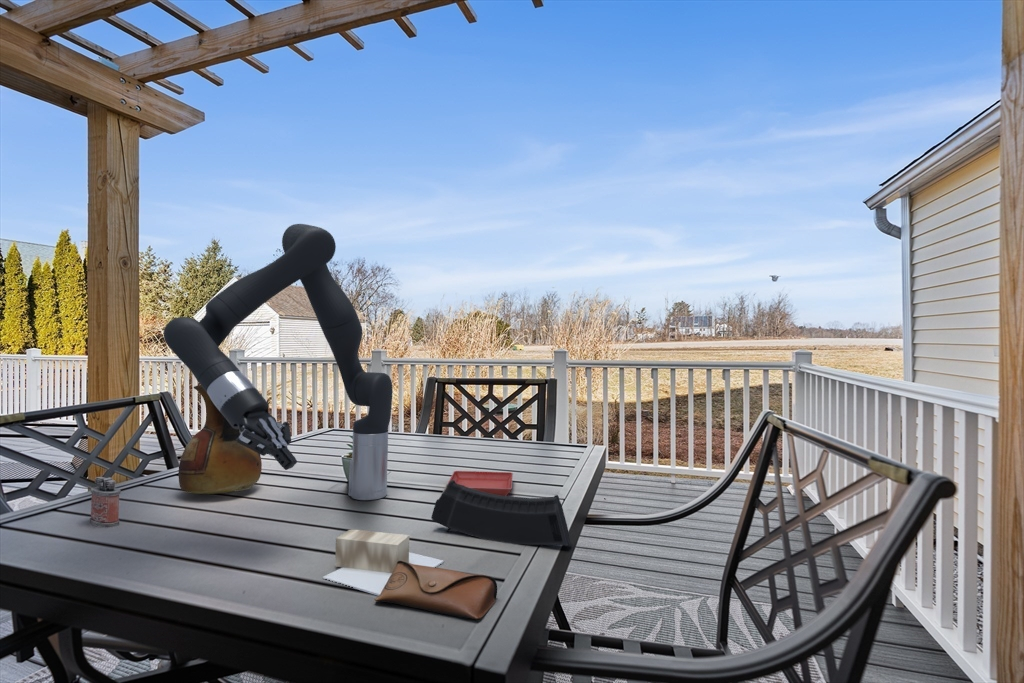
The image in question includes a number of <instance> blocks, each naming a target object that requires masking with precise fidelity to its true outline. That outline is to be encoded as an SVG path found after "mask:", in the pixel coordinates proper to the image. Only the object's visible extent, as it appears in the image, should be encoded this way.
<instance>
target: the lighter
mask: <svg viewBox="0 0 1024 683" xmlns="http://www.w3.org/2000/svg"><path fill="white" fill-rule="evenodd" d="M94 483H95V484H97V485H98V486H96V487H91V488H90V493H91V500H90V501H91V505H90V506H91V508H90V517H89V524H90V525H92V526H95V527H99V528H105V529H106V528H110V529H111V528H115V527H117V526H119V525H120V519H119V515H120V514H119V512H120V495H121V489H119V488H116V487H115V486H116V480H114V479H113V478H112V477H111V476H109V477H103V476H96V478H94Z"/></svg>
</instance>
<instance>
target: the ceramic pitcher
mask: <svg viewBox="0 0 1024 683" xmlns="http://www.w3.org/2000/svg"><path fill="white" fill-rule="evenodd" d="M193 389H194V390H196V391H197V392H198V393H199V394H200V396H201V397H202V399H203V401H204V405H205V412H206V413H205V423H204V426H203V427H202V428H201V429H200V430H199V431H198V432H196V433H195V434H194V435H193V436H192V437H191V439H189V441H188V443H187V444H186V446H185V448H184V450H183V451H182V453H181V457H180V459H179V465H178V472H177V473H178V476H177V477H178V484H179V488H180V489H181V490H182V491H184V492H186V493H189V494H198V495H215V494H225V493H226V494H227V493H233V492H241V491H244V490H246V491H247V490H249V489H250V488H252V487H253V486H255V484H256V483H258V481H260V478H261V476H262V465H263V464H262V457H261V456H262V455H261V454H259V453H257V452H255V451H253V450H251V449H249V448H247V447H245V446H243V445H241V444H240V443H238V442H237V441H236V439H237V438H238V437H239V436H240V435H241V432H240V430H239V429H234V428H233V427H232V426H231V425H230V423H229V422H228V421H227V420H226V418H225V417H224V416H223V415H222V413H221V412H220V411H219V410H218V408H217V407H216V406H215V405H214V403H213V402H212V400H211V398H210V397H209V395H208V394H207V392H206V391H205V390H204V388H203V387H202V386H201V385H200V384H197V385H194V386H193Z"/></svg>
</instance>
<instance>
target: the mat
mask: <svg viewBox="0 0 1024 683" xmlns="http://www.w3.org/2000/svg"><path fill="white" fill-rule="evenodd" d="M409 563H411V564H415V565H422V566H429V567H436V568H438V567H439V566H440V564H441V565H442V564H444V563H445V560H442V559H438V558H435V557H431V556H426V555H421V554H419V553H414V552H410V551H409ZM391 574H392V573H386V572H378V571H369V570H361V569H353V568H345V567H339V568H338V569H337V570H334V571H332V572H330V573H328V574H326V575H324V576H322V579H323V580H325V579H327V580H326V581H328V580H330V581H329V582H332V581H333V583H335V582H337V583H336V584H338V583H341V584H340V585H342V584H344V585H343V586H345V585H347V586H346V587H348V586H350V587H349V588H351V587H353V588H352V589H355V590H359V591H361V592H365V593H369V594H371V595H375V596H377V597H378V596H379V595H380V594H381V592H382V590H383V588H384V586H385V585H386V583H387V581H388V579H389V577H390V576H391Z"/></svg>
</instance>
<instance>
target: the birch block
mask: <svg viewBox="0 0 1024 683" xmlns="http://www.w3.org/2000/svg"><path fill="white" fill-rule="evenodd" d="M409 552H410V534H402V533H391V532H381V531H372V530H364V529H363V530H362V529H348V530H346V531H345V532H343V533H342V534H341V535H339V536H337V537H336V538H335V560H334V562H335V563H334V564H335V565H334V566H335V567H338V568H342V567H345V568H353V569H361V570H369V571H378V572H386V573H392V572H393V570H394V569H395V567H396V565H397V562H398V561H405V562H408V563H409Z"/></svg>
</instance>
